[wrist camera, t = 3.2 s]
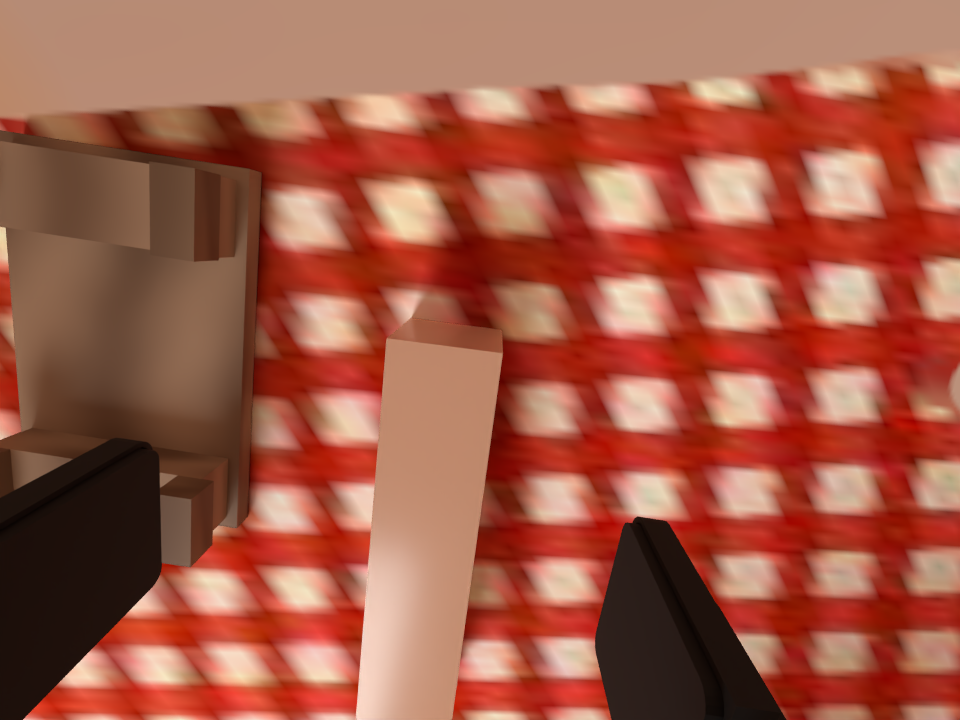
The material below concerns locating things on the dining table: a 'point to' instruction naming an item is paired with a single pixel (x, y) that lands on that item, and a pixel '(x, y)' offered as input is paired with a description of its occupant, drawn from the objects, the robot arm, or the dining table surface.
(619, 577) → the robot arm
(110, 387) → the rack
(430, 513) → the clay strip
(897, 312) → the dining table surface
